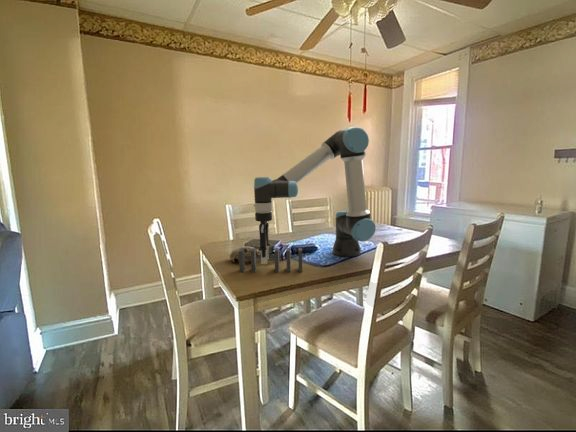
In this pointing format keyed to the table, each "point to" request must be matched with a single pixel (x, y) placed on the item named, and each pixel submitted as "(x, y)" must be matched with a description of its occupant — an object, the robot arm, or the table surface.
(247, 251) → the skull
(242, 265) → the domino
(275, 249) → the domino
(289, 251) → the domino
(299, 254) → the domino
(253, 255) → the domino
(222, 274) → the table surface
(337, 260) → the table surface
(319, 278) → the table surface
